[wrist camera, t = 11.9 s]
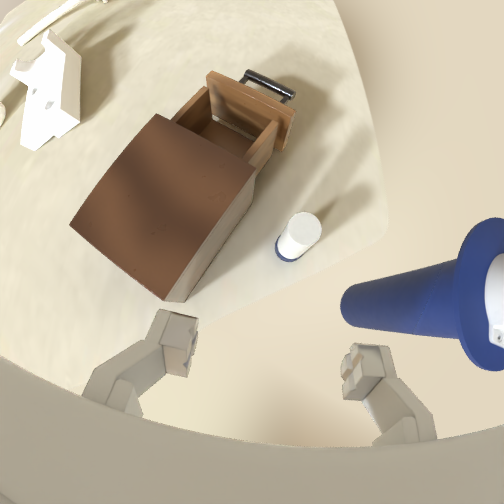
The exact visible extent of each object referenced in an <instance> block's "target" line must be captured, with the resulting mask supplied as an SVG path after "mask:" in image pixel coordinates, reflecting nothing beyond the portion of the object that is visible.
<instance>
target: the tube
mask: <svg viewBox="0 0 504 504" xmlns="http://www.w3.org/2000/svg"><path fill="white" fill-rule="evenodd" d="M321 233H322V227H321V223H320V221H319V220H318V218H317V217H316V216H314V215H313V214H311V213H309V212H299V213H296V214H295V215H293V216H292V217H291V218H290V220H289V222H288V224H287V225H286V227H285V229H284V231H283V232H282V234H281V235H280V236H279V237H278V239H277V241H276V243H275V251H276V254H277V256H278V257H279V258H280V259H281V260H283V261H286V262H293V261H296V260H297V259H299V258H300V257H301V256H302V255H303V253H304V252H305V251H307V250H308V249H309V248H310V247H311V246H312V245H314V244H315V243H316V242H317V241H318V240H319V238H320V236H321Z"/></svg>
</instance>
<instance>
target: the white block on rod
mask: <svg viewBox="0 0 504 504" xmlns="http://www.w3.org/2000/svg"><path fill="white" fill-rule="evenodd" d="M84 1H85V0H69V1H67V2H66V3H64V4H63V5H61V6H60V7H59V8H57V9H56V10H54V11H53V12H51V13H50V14H49V15H47V16H46V17H45V18H43V19H42V20H41V21H39V22H38V23H37V24H36V25H34V26H33V27H32V28H31V29H29V30H28V31H27V32H26V33H24V34H23V35H22V36H21V37H20V38H19V39H18V40H17V41H18V43H19V45H20V46H23V45H24V44H26V43H27V42H28V41H29V40H30V39H32V38H33V37H34V36H35V35H37V34H38V33H39V32H40V31H42V30H43V29H44V28H46V27H47V26H48V25H50V24H51V23H52V22H54V21H55V20H56V19H58V18H59V17H61V16H62V15H64V14H65V13H67V12H68V11H70V10H71V9H73V8H74V7H76V6H77V5H79V4H80V3H82V2H84ZM96 1H99V0H96ZM102 1H103V2H104V4H105V3H107V2H108V0H102Z"/></svg>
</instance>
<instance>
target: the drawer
mask: <svg viewBox="0 0 504 504" xmlns="http://www.w3.org/2000/svg"><path fill="white" fill-rule="evenodd" d="M248 80H250V81H252V82H254V83H256V84H258V85H260V86H262V87H264V88H266V89H269V90H271V91H273V92H275V93H277V94H278V95H280V96H282V97H283V99H282V100H281V101H280V102H279V101H277V100H275V99H273V98H271V97H269V96H267V95H265V94H263V93H261V92H259V91H257V90H255V89H252V88H250V87H248V86H246V85H244V84H245V83H246V82H247V81H248ZM206 81H207V87H205V86H203V87H202V88H201V89H200V90H199V91H198V92H197V93H196V94H195V95H194V96H193V97H192V98H191V99H190V100H189V101H188V102H187V103H186V104H185V105H184V106H183V107H182V108H181V109H180V110H179V111H178V112H177V113H176V114H175V116H174V117H173V118H172V119H171V121H173V122H175V123H176V124H178V125H180V126H182V127H184V128H186V129H188V130H190V131H192V132H194V133H195V134H197V135H199V136H201V137H203V138H205V139H207V140H208V141H210V142H212V143H214V144H216V145H217V146H219V147H221V148H223V149H225V150H226V151H228V152H230V153H232V154H233V155H235V156H237V157H239V158H240V159H242V160H244V161H245V162H247V163H249V164H251V165H252V166H254V167H256V168H257V170H256V176H257V175H258V173H259V172H260V171H261V169H262V168H263V167H264V165H265V164H266V163H267V161H268V160H269V159H270V157H271V156H272V152H273V147H274V148H276V149H278V150H279V151H281V152H282V151H283V150H284V148H285V147H286V145H287V141H288V138H289V135H290V131H291V128H292V124H293V121H294V117H295V114H296V111H295V110H294V109H292V108H290V107H288V106H286V105H285V104H286V103H287V102H288V100H290V101H291V100H292V99H293V98H294V96H295V94H296V92H295V91H294V90H292V89H290V88H288V87H286V86H284V85H282V84H280V83H278V82H276V81H274V80H271V79H269V78H267V77H265V76H263V75H261V74H259V73H256V72H254V71H252V70H250V69H248V70H246V72H245V74H244V77H243V78H242V79H241V80H240V81H239V82H237V81H235V80H233V79H231V78H228V77H226V76H224V75H222V74H219V73H217V72H214V71H211V72H210V73H209V74H208V75H207V76H206ZM212 114H213V115H215V116H217V117H219V118H221V119H223V120H225V121H227V122H229V123H231V124H232V125H234V126H236V127H238V128H240V129H242V130H244V131H246V132H247V133H249V134H251V135H253V136H255V137H256V138H257V140H256V141H255V142H253V141H252V140H250V139H248V138H246V137H244V136H243V135H241V134H239V133H237V132H235V131H233V130H232V129H230V128H228V127H226V126H224V125H222V124H220V123H218V122H216V121H214V120H213V118H212Z"/></svg>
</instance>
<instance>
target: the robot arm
mask: <svg viewBox="0 0 504 504" xmlns="http://www.w3.org/2000/svg"><path fill="white" fill-rule="evenodd" d="M485 307H486V312H487V316H488V320H489V340H490V342H491V343H492V344H495V345H497V346H499V347H502V348H504V253H502V254H499V255H498V256H496V257H495V258H494V260H493V261H492V263H491V265H490V267H489V269H488V273H487V277H486V282H485ZM197 327H198V318H196V317H192V316H188V315H184V314H180V313H176V312H171V311H167V310H163V309H159V310H158V312H157V314H156V316H155V318H154V320H153V322H152V325H151V327H150V329H149V331H148V334H147V336H146V338H145V341H144V340H140V341H138V342H137V343H135V344H133V345H132V346H130V347H129V348H127V349H125V350H124V351H122V352H121V353H119V354H117V355H116V356H114V357H112V358H111V359H109V360H108V361H106V362H104V363H103V364H101V365H100V366H98V367H96V368H95V369H94V371H93V373H92V375H91V377H90V379H89V381H88V383H87V385H86V387H85V389H84V392H83V394H82V396H80V395H77V394H75V393H72V392H70V391H68V390H66V389H64V388H61V387H59V386H57V385H55V384H53V383H51V382H49V381H47V380H45V379H43V378H41V377H39V376H37V375H35V374H33V373H31V372H29V371H27V370H25V369H23V368H22V367H20V366H18V365H16V364H14V363H13V362H11V361H9V360H8V359H6V358H4V357H3V356H1V355H0V504H504V424H503V425H500V426H497V427H493V428H489V429H486V430H482V431H478V432H473V433H469V434H464V435H460V436H455V437H449V438H444V439H438V440H437V435H436V430H435V425H434V421H433V416H432V414H431V413H430V411H429V410H428V409H427V408H426V407H425V406H424V405H423V403H422V402H421V401H420V400H419V399H418V398H417V397H416V395H415V394H414V393H413V392H412V391H411V390H410V389H409V388H408V387H407V385H406V384H405V383H404V382H403V381H402V380H401V379H400V378H397V375H396V371H395V367H394V363H393V359H392V355H391V352H390V348H389V347H388V346H383V345H374V344H362V343H354V344H353V345H352V346H351V347H350V353H349V354H347V355H345V357H344V359H343V361H342V364H341V377H342V378H343V380H344V381H345V383H344V384H343V385H342V390H343V399H344V400H358V401H362V403H363V405H364V406H365V408H366V409H367V411H368V412H369V414H370V416H371V417H372V419H373V420H374V422H375V423H376V425H377V426H378V428H379V429H380V431H381V433H382V435H381V436H380V437H378V438H377V439H376V440H374V442H373V443H372V444H373V447H305V446H289V445H277V444H268V443H259V442H251V441H244V440H237V439H231V438H225V437H219V436H214V435H209V434H204V433H199V432H194V431H190V430H185V429H181V428H177V427H173V426H169V425H165V424H162V423H158V422H154V421H151V420H147V419H144V418H142V416H143V412H142V409H141V407H140V404H139V401H138V397H140V395H142V394H143V393H144V392H146V391H147V390H148V389H149V388H150V387H151V386H153V385H154V384H155V383H156V382H157V381H158V380H160V379H161V378H162V377H163V376H164V375H165V374H166V373H169V374H173V375H178V376H182V377H188V373H189V370H190V367H191V356H193V355H194V352H195V348H196V344H197V337H198V331H197Z"/></svg>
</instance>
